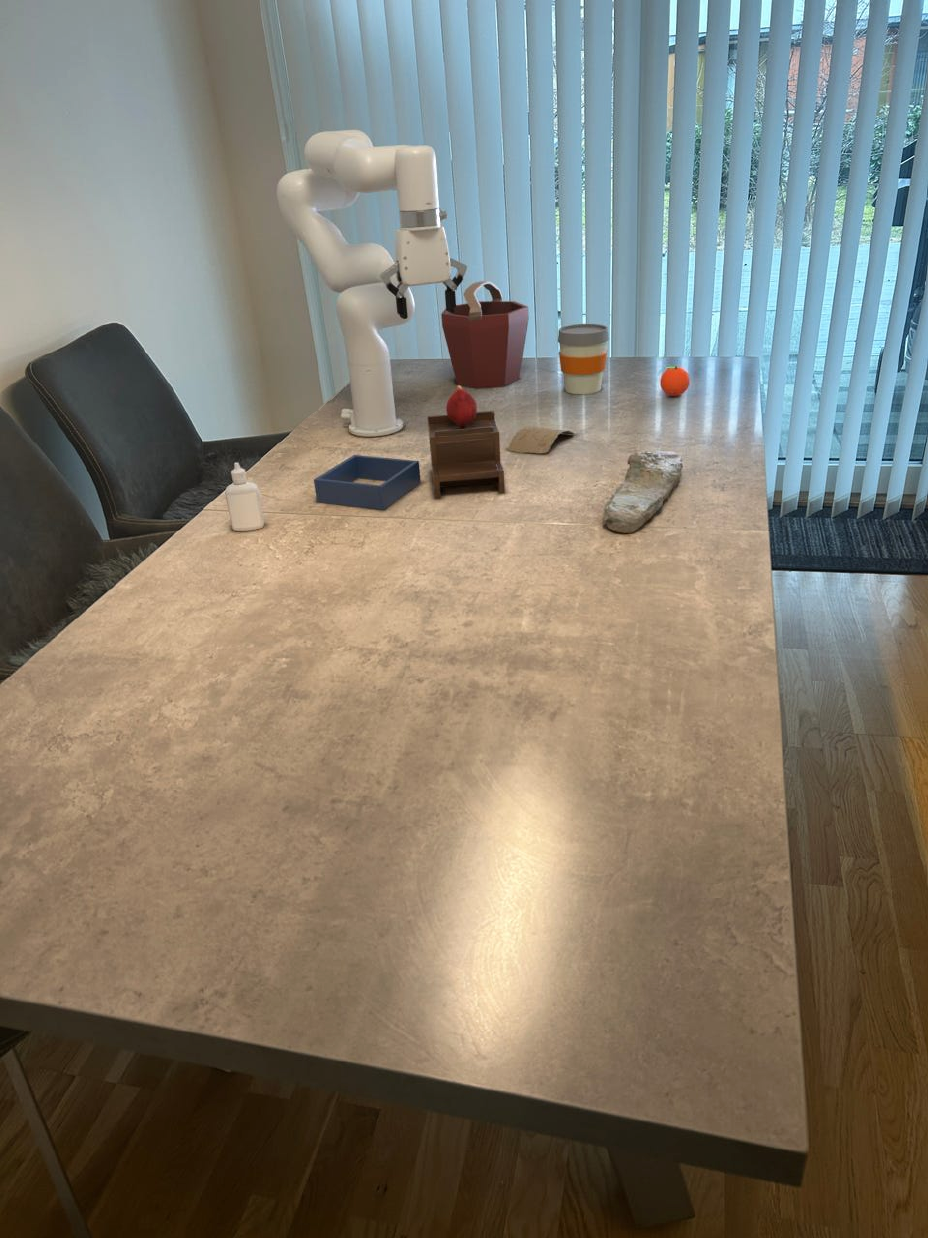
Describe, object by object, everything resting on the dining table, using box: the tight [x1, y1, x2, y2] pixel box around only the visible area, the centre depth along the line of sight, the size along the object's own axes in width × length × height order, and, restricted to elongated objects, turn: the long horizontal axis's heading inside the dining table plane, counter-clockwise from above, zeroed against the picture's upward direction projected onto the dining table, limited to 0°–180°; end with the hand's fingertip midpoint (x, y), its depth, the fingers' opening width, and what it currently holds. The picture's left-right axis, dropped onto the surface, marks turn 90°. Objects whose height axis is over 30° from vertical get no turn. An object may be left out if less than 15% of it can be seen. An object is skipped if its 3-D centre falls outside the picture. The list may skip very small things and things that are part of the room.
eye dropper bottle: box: [224, 462, 265, 532], centre depth 156 cm, size 4×6×12 cm
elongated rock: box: [602, 450, 683, 534], centre depth 159 cm, size 35×5×10 cm
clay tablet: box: [507, 425, 576, 454], centre depth 190 cm, size 14×10×3 cm
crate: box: [313, 454, 422, 511], centre depth 169 cm, size 15×15×4 cm
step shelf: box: [427, 410, 506, 500], centre depth 169 cm, size 15×13×12 cm
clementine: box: [657, 365, 691, 397], centre depth 214 cm, size 8×7×7 cm
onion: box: [445, 384, 478, 428], centre depth 168 cm, size 6×6×8 cm
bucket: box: [440, 280, 530, 389], centre depth 235 cm, size 24×22×25 cm
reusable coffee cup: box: [557, 323, 610, 395], centre depth 222 cm, size 13×13×15 cm
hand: (427, 314), depth 175 cm, fingers open, 9 cm apart
